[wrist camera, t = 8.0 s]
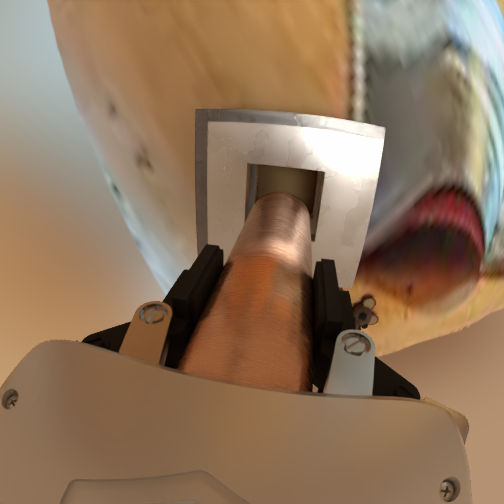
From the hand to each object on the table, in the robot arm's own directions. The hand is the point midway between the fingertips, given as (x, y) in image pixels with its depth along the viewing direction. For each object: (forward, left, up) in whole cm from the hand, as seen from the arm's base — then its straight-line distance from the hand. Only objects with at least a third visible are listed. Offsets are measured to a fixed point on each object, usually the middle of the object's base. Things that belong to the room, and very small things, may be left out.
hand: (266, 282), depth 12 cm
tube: (0, 0, -7) cm, 7 cm away
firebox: (0, 0, -18) cm, 18 cm away
